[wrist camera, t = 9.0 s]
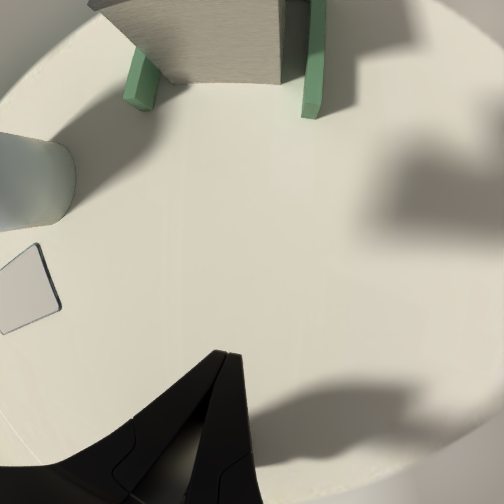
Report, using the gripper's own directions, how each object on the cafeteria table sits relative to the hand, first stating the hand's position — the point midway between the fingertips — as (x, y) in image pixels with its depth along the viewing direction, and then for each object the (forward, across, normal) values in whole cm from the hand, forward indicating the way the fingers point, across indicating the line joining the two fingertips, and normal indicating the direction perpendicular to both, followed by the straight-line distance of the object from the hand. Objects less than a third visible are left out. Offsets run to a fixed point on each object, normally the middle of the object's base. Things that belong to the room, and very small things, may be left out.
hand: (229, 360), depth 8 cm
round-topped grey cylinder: (+12, +21, -2) cm, 24 cm away
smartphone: (+8, +27, +9) cm, 30 cm away
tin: (+17, +5, -13) cm, 22 cm away
